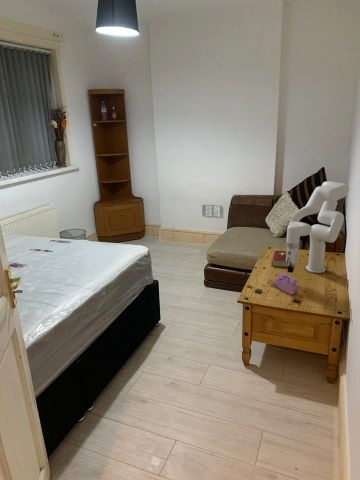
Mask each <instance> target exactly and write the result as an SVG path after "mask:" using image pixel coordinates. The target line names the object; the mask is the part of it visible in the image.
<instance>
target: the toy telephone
mask: <svg viewBox="0 0 360 480" xmlns="http://www.w3.org/2000/svg"><path fill="white" fill-rule="evenodd" d="M270 286H271V287H276V288H277V289H279V290H281V291H283V292H285V293H288V294H289V295H294V294H297V293H299V284H298V283H297V280H296V278H294V277H292V275H289V274H287V273H282V272H279V273H278V275H277V276H276V278H275V280H274V282H271V284H270Z"/></svg>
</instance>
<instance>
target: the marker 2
mask: <svg viewBox="0 0 360 480" xmlns="http://www.w3.org/2000/svg"><path fill="white" fill-rule="evenodd" d="M300 301H301V299H300V298H298V297H294V298H293V299H292V302H293V303H297V304H298V303H300Z"/></svg>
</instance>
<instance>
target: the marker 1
mask: <svg viewBox="0 0 360 480" xmlns="http://www.w3.org/2000/svg"><path fill="white" fill-rule="evenodd" d="M262 292H263V289H261V288H256V289H255V290H254V293H256V294H261V293H262Z"/></svg>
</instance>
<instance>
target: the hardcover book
mask: <svg viewBox="0 0 360 480" xmlns="http://www.w3.org/2000/svg"><path fill="white" fill-rule="evenodd" d="M286 253H287V250H277V249H274V252H273V257H272V261H271V266H272V267H276V268H286V269H288V266H287V264H288V263H286Z"/></svg>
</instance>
